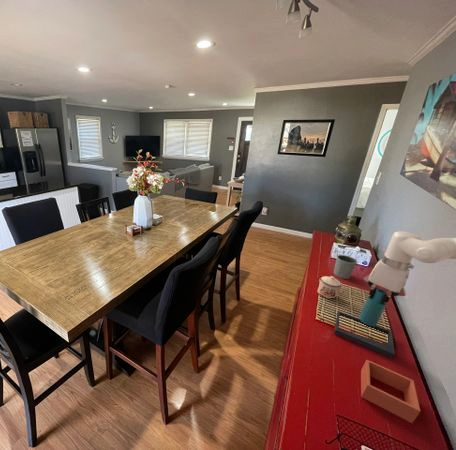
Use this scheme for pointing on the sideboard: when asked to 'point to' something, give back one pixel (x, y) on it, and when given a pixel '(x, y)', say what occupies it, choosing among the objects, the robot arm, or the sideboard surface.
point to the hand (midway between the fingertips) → (377, 299)
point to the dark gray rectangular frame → (366, 342)
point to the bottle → (373, 308)
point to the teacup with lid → (330, 287)
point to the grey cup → (344, 266)
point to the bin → (385, 400)
